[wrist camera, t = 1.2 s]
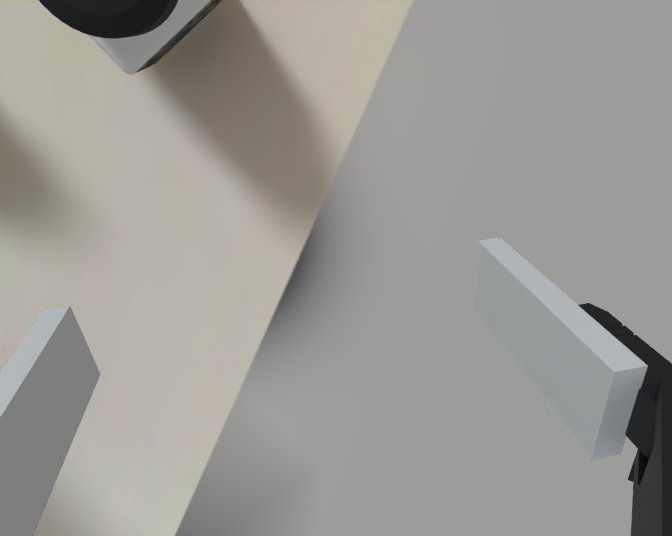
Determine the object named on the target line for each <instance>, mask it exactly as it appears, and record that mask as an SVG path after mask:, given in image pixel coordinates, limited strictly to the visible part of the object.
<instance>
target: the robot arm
mask: <svg viewBox="0 0 672 536" xmlns="http://www.w3.org/2000/svg"><path fill="white" fill-rule="evenodd" d="M474 310H475V312H476V313H477V314H478V315H479V317H480V318H481V319H482V321H483V322H484V323H485V324H486V326H487V327H488V328H489V330H490V331H491V332H492V333H493V335H494V336H495V337H496V339H497V340H498V341H499V342H500V344H501V345H502V346H503V348H504V349H505V350H506V351H507V353H508V354H509V355H510V356H511V358H512V359H513V360H514V362H515V363H516V364H517V366H518V367H519V368H520V369H521V371H522V372H523V373H524V374H525V376H526V377H527V378H528V380H529V381H530V382H531V384H532V385H533V386H534V387H535V389H536V390H537V391H538V393H539V394H540V395H541V396H542V398H543V399H544V400H545V402H546V403H547V404H548V405H549V407H550V408H551V409H552V411H553V412H554V413H555V414H556V416H557V417H558V418H559V420H560V421H561V422H562V423H563V424H564V426H565V427H566V429H567V430H568V431H569V432H570V433H571V435H572V436H573V437H574V439H575V440H576V441H577V442H578V444H579V445H580V446H581V448H582V449H583V450H584V451H585V453H586V454H587V455H588V457H589V458H590V459H591V460H594V459H599V458H603V457H608V456H613V455H617V454H621V451H622V448H623V445H624V441H625V438H626V436H627V437H628V438H629V439H630V440H631V441H632V442H633V444H634V445H635V446H636V447H637V448H638V451H637V454H636V457H635V460H634V463H633V466H632V469H631V472H630V475H629V477H628V480H630V481H632V482H633V481H634V485H633V507H632V525H631V536H672V364H671V363H670V362H669V361H668V360H666V359H665V358H664V357H663V356H661V355H660V354H659V353H658V352H656V351H655V350H654V349H653V348H651V347H650V346H649V345H648V344H647V343H645V342H644V341H643V340H642V339H640V338H639V337H638V336H637V335H634V334H633V332H632V331H631V330H629V329H628V328H627V327H626V326H622V323H621V322H620V321H618V320H617V319H616V318H615V317H613V316H612V315H611V314H610V313H609V312H607V311H605V310H603V309H600V308H598V307H596V306H594V305H592V304H590V303H587V304H581V305H577V304H576V303H575V302H574V301H572V300H571V299H570V298H569V297H568V296H567V295H566V294H564V293H563V292H562V291H561V290H560V289H559V288H557V287H556V286H555V285H554V284H553V283H552V282H551V281H549V280H548V279H547V278H546V277H545V276H544V275H542V274H541V273H540V272H539V271H538V270H536V268H534V267H533V266H532V265H531V264H530V263H529V262H527V261H526V260H525V259H524V258H523V257H522V256H520V255H519V254H518V253H517V252H516V251H515V250H513V249H512V248H511V247H510V246H509V245H508V244H507V243H505V242H504V241H503V240H502V239H501V238H493V239H487V240H481V241H478V249H477V265H476V279H475V295H474ZM99 376H100V372H99V370H98V368H97V365H96V363H95V361H94V359H93V356H92V354H91V352H90V350H89V347H88V345H87V343H86V341H85V338H84V336H83V334H82V332H81V329H80V327H79V325H78V323H77V320H76V318H75V316H74V313H73V311H72V309H71V307H70V306H66V307H59V308H53V309H47V310H44V311H43V312H42V313H41V315H40V316H39V318H38V319H37V320H36V322H35V323H34V325H33V326H32V328H31V329H30V330H29V332H28V333H27V335H26V336H25V337H24V339H23V340H22V342H21V343H20V344H19V346H18V347H17V349H16V350H15V352H14V353H13V354H12V356H11V357H10V359H9V360H8V361H7V363H6V364H5V366H4V367H3V369H2V370H1V371H0V536H33V534H34V531H35V529H36V527H37V524H38V522H39V519H40V517H41V515H42V512H43V510H44V508H45V505H46V503H47V500H48V498H49V496H50V493H51V491H52V488H53V486H54V484H55V481H56V479H57V477H58V474H59V472H60V469H61V467H62V465H63V462H64V460H65V457H66V455H67V453H68V450H69V448H70V446H71V443H72V441H73V438H74V436H75V434H76V431H77V429H78V426H79V424H80V422H81V419H82V417H83V415H84V412H85V410H86V407H87V405H88V403H89V400H90V398H91V395H92V393H93V391H94V388H95V386H96V384H97V381H98V379H99Z"/></svg>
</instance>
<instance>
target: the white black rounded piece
mask: <svg viewBox="0 0 672 536" xmlns="http://www.w3.org/2000/svg"><path fill="white" fill-rule="evenodd" d="M39 1H40V2H41V3H42V5H43V6H44V7H46V8H47V9H48V10H49V11H50V12H51V13H52V14H53V15H54V16H56V17H57V18H58V19H59V20H61V21H62V22H64V23H65V24H67V25H69V26H70V27H72V28H74V29H76V30H78V31H80V32H82V33H85V34H88V35H90V36H91V38H92V39H93V40H94V41H95V42H96V43H97V44H98V45H99V46H100V47H101V48H102V49H103V50H104V51H105V52H106V53H107V54H108V55H109V56H110V57H111V58H112V59H113V60H114V61H115V62H116V63H117V65H118V66H119V67H120V68H121V69H122V70H123V71H124V72H126V73H127V74H131V75H132V74H134V73H136V72H139V71H141V70H143V69H145V68H147V67H149V66H151V65H153V64H156V63H157V62H158V61H159V60H160V59H161V58H162V57H163V56H164V55H165V54H166V53H167V52H168V51H169V50H170V49H172V48H173V47H174V46H175V45H176V44H177V43H178V42H179V41H180V40H181V39H182V38H183V37H184V36H185V35H186V34H187V33H188V32H189V31H190V30H192V29H193V28H194V27H195V26H196V25H197V24H198V23H199V22H200V21H201V20H202V19H203V18H204V17H205V16H206V15H207V14H208V13H209V12H211V11H212V10H213V9H214V8H215V7H216V6H217V5H218V4H219V3H220V2H221V1H222V0H39Z"/></svg>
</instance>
